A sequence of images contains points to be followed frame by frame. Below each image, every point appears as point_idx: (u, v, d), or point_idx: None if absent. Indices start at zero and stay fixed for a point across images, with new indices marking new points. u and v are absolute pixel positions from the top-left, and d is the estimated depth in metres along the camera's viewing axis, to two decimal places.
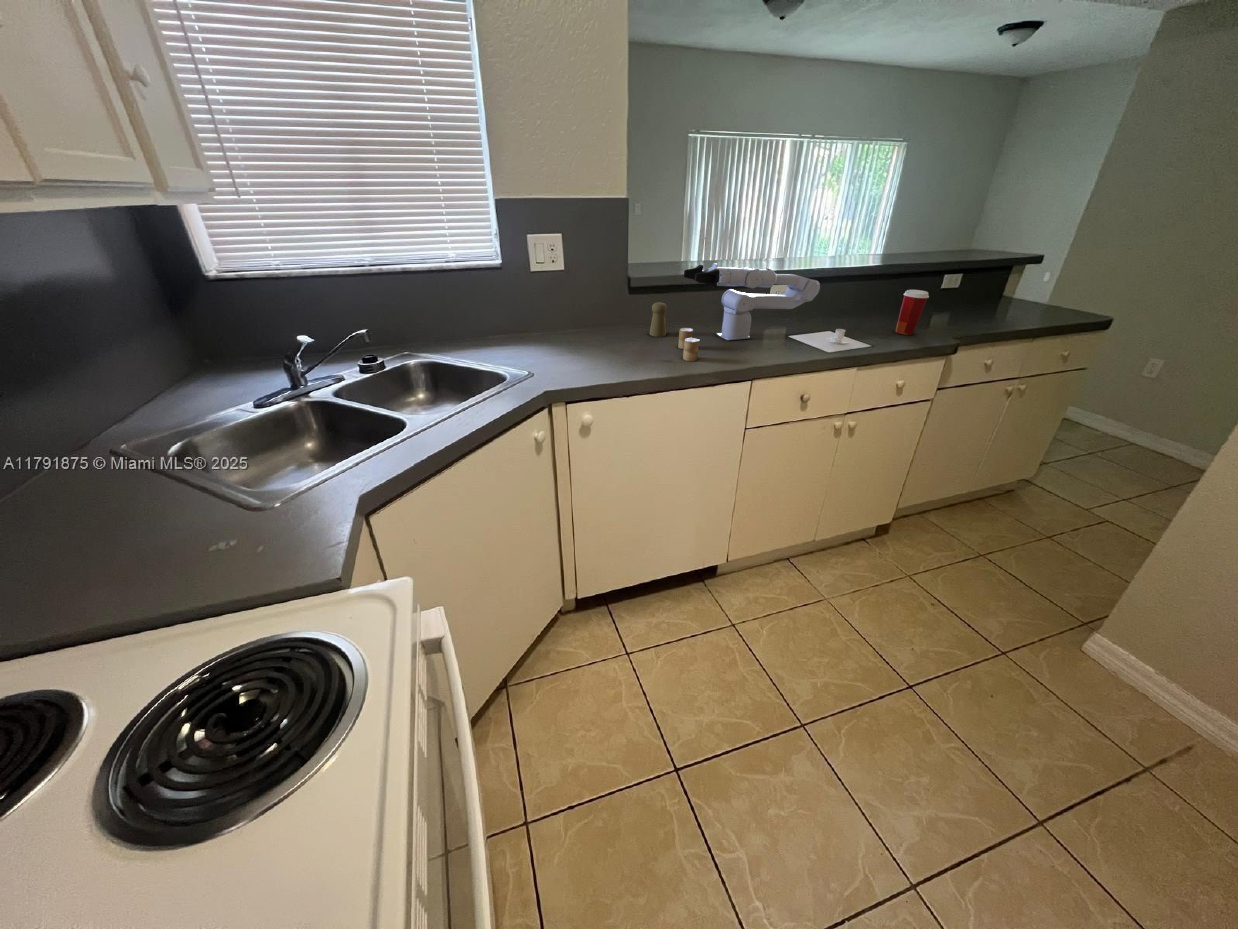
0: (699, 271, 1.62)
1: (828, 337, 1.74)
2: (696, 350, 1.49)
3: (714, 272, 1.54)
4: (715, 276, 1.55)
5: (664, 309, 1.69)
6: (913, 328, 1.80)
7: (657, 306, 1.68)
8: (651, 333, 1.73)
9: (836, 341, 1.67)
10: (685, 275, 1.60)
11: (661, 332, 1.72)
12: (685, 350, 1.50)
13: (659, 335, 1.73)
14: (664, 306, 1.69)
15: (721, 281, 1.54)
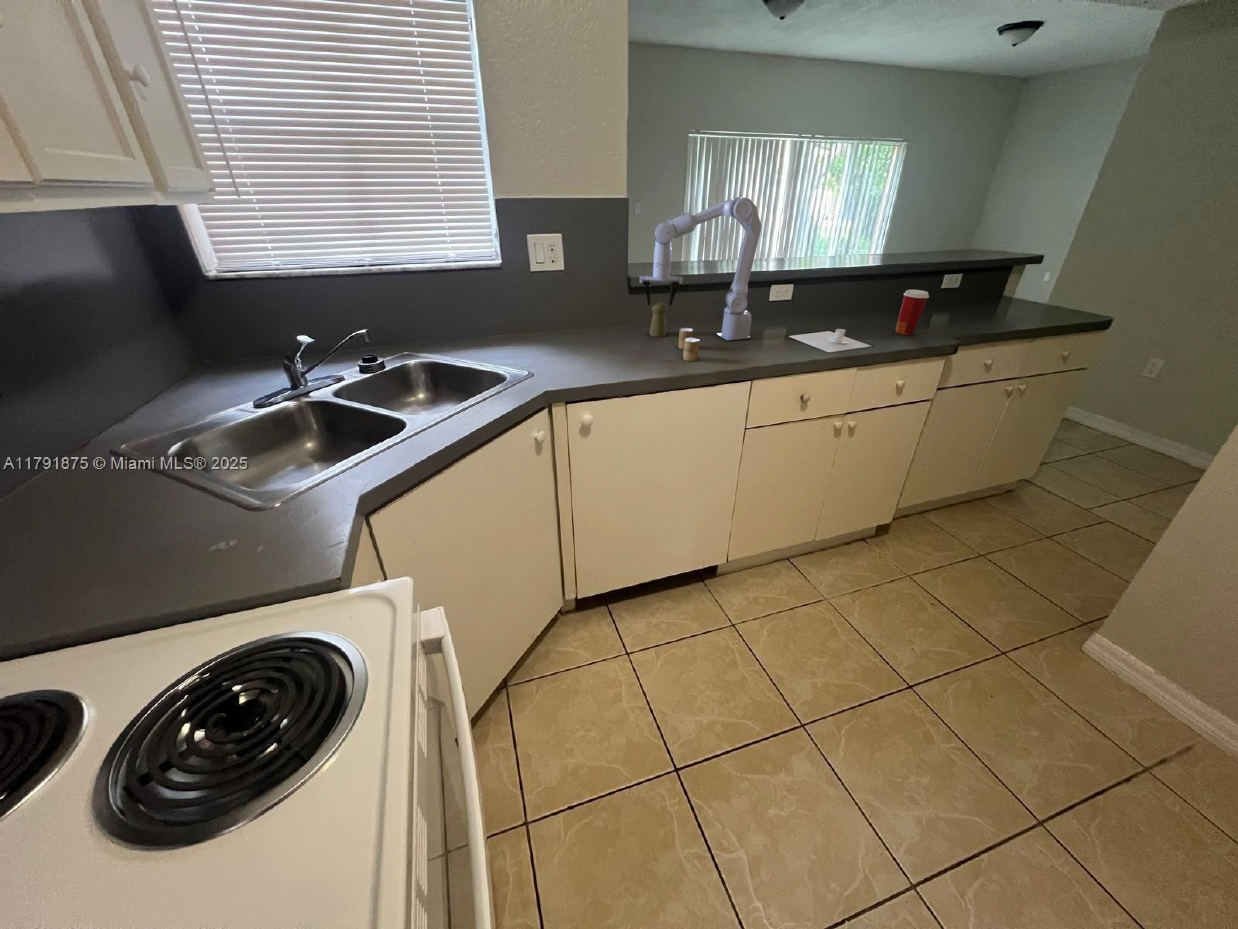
0: (670, 287, 1.68)
1: (828, 337, 1.74)
2: (696, 350, 1.49)
3: None
4: None
5: (664, 309, 1.69)
6: (913, 328, 1.80)
7: (657, 306, 1.68)
8: (651, 333, 1.73)
9: (836, 341, 1.67)
10: (669, 304, 1.69)
11: (661, 332, 1.72)
12: (685, 350, 1.50)
13: (659, 335, 1.73)
14: (664, 306, 1.69)
15: (640, 281, 1.65)
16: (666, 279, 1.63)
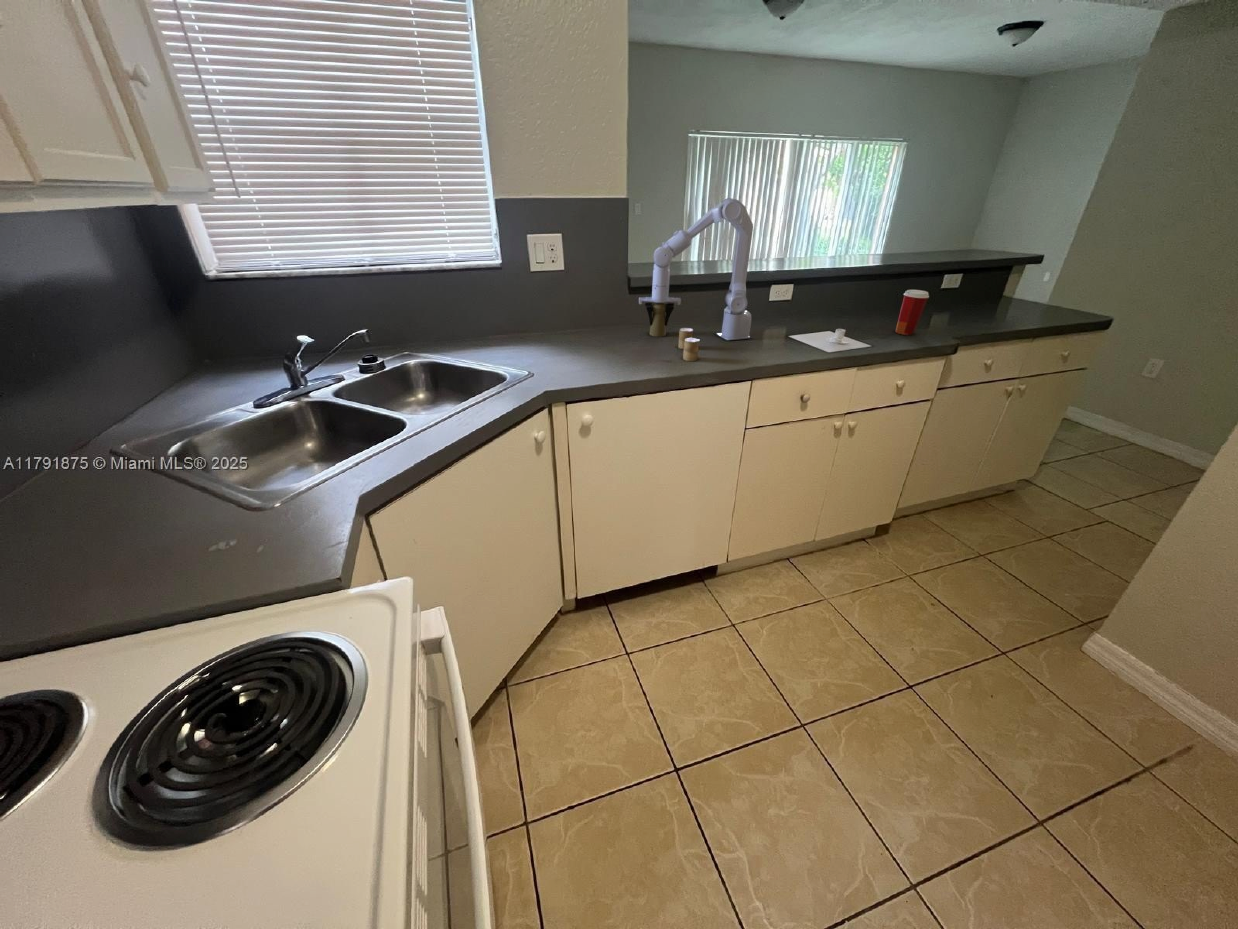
0: None
1: (828, 337, 1.74)
2: (696, 350, 1.49)
3: None
4: None
5: (664, 309, 1.69)
6: (913, 328, 1.80)
7: (657, 306, 1.68)
8: (651, 333, 1.73)
9: (836, 341, 1.67)
10: (665, 324, 1.73)
11: (661, 333, 1.72)
12: (685, 350, 1.50)
13: (659, 335, 1.73)
14: (664, 306, 1.69)
15: (639, 302, 1.69)
16: (665, 300, 1.67)
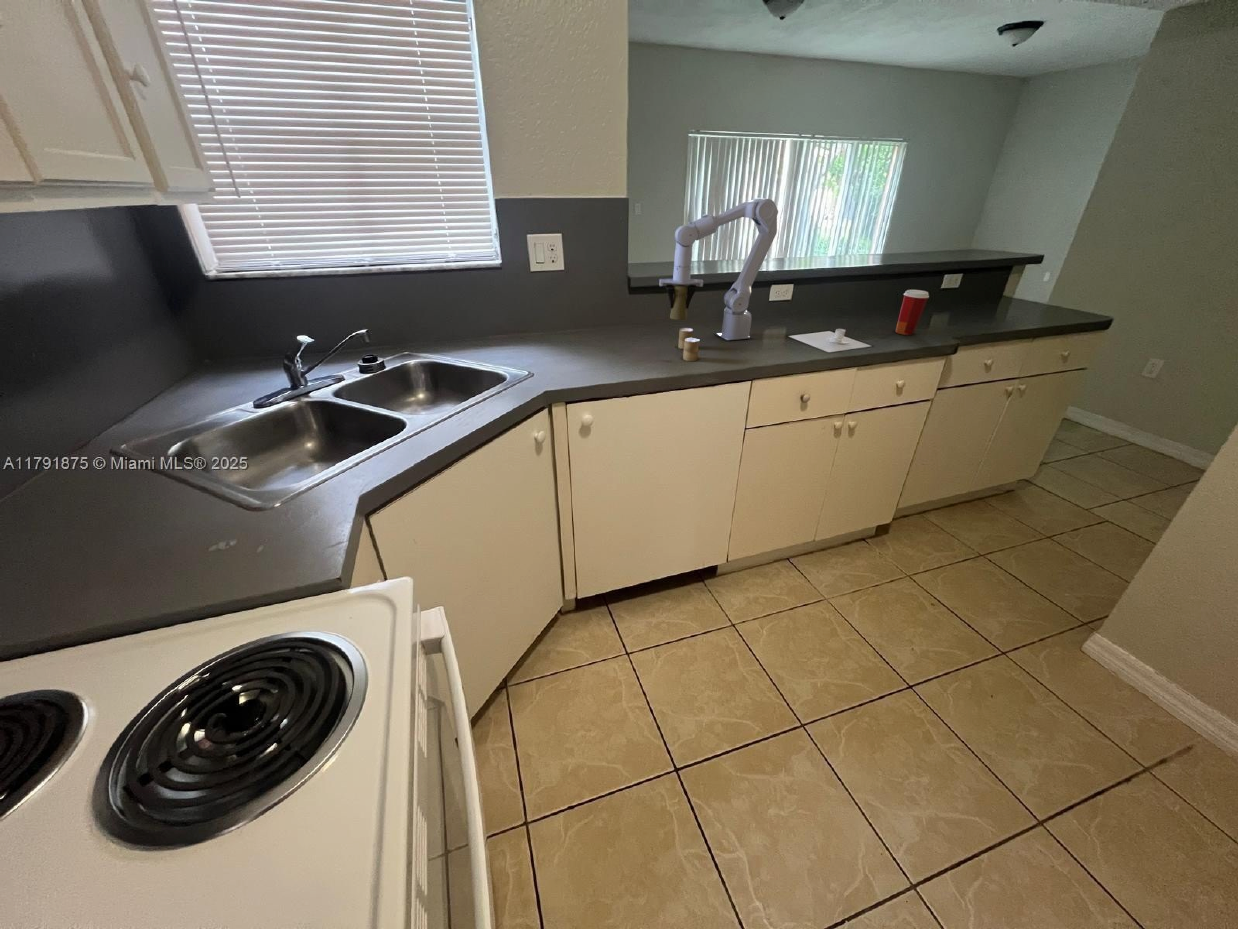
0: None
1: (828, 337, 1.74)
2: (696, 350, 1.49)
3: None
4: None
5: (686, 291, 1.63)
6: (913, 328, 1.80)
7: (678, 288, 1.62)
8: (672, 316, 1.68)
9: (836, 341, 1.67)
10: (686, 307, 1.67)
11: (683, 316, 1.67)
12: (685, 350, 1.50)
13: (680, 318, 1.67)
14: (686, 288, 1.63)
15: (659, 284, 1.63)
16: (687, 282, 1.61)
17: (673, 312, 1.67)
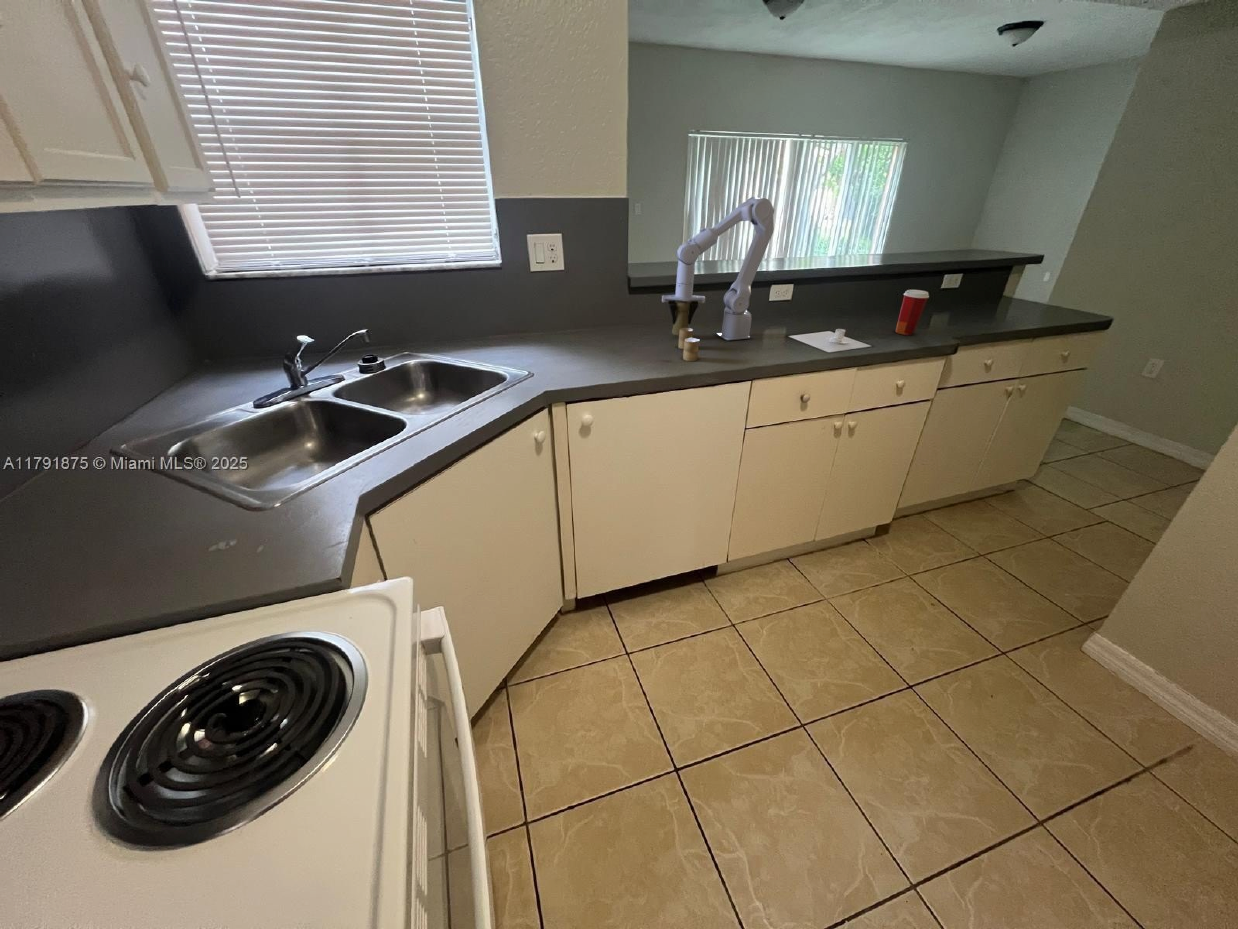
0: None
1: (828, 337, 1.74)
2: (696, 350, 1.49)
3: (669, 305, 1.69)
4: None
5: (688, 307, 1.65)
6: (913, 328, 1.80)
7: (681, 304, 1.65)
8: (674, 332, 1.70)
9: (836, 341, 1.67)
10: (688, 322, 1.69)
11: None
12: (685, 350, 1.50)
13: None
14: (688, 304, 1.65)
15: (662, 300, 1.65)
16: (689, 299, 1.63)
17: (675, 328, 1.69)
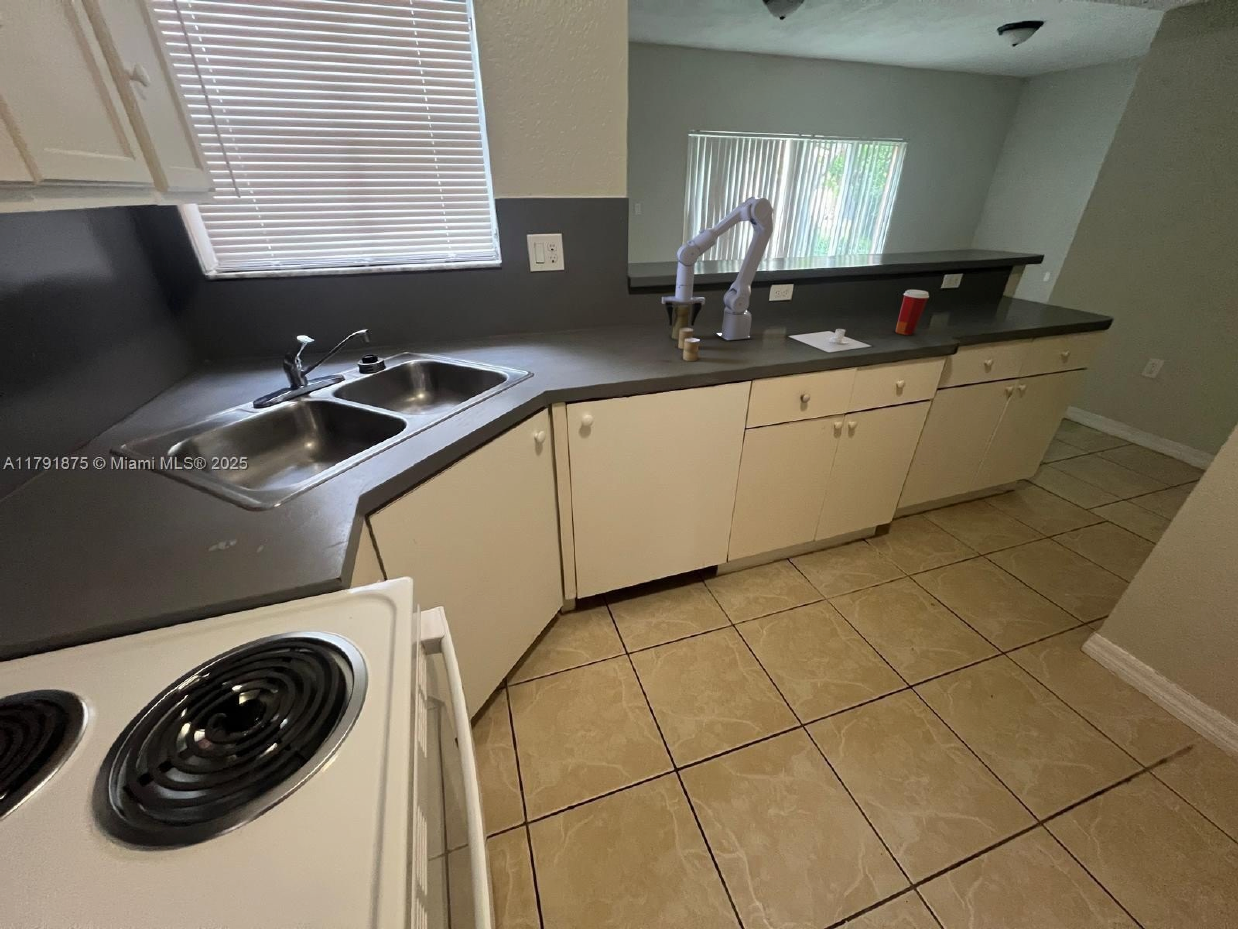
0: (692, 308, 1.68)
1: (828, 337, 1.74)
2: (696, 350, 1.49)
3: None
4: None
5: (688, 312, 1.66)
6: (913, 328, 1.80)
7: (680, 309, 1.65)
8: (673, 336, 1.71)
9: (836, 341, 1.67)
10: (691, 324, 1.70)
11: None
12: (685, 350, 1.50)
13: None
14: (687, 309, 1.66)
15: (662, 302, 1.66)
16: (689, 300, 1.63)
17: (675, 332, 1.70)
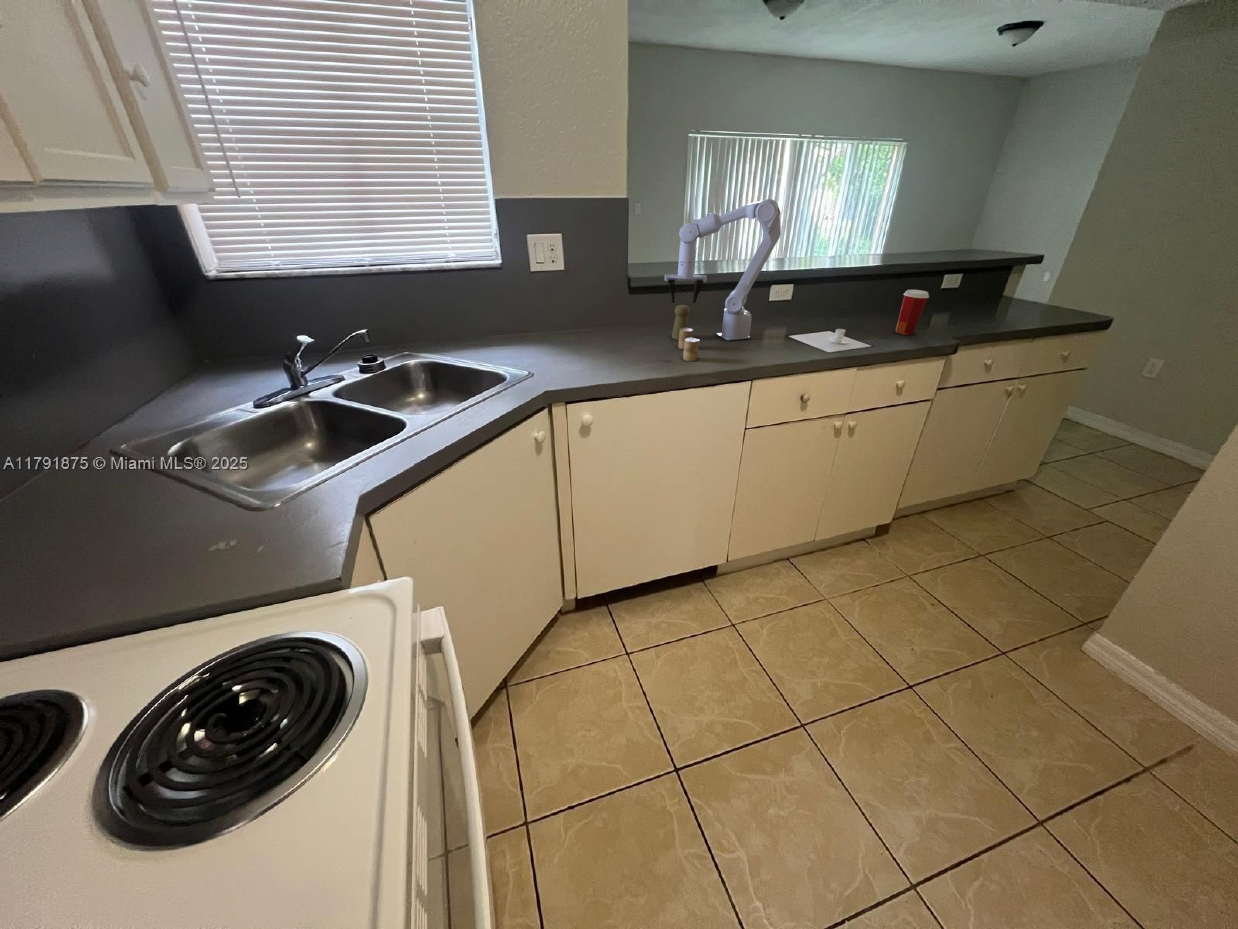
0: (694, 285, 1.72)
1: (828, 337, 1.74)
2: (696, 350, 1.49)
3: (668, 284, 1.73)
4: None
5: (688, 312, 1.66)
6: (913, 328, 1.80)
7: (680, 309, 1.65)
8: (673, 336, 1.71)
9: (836, 341, 1.67)
10: (693, 301, 1.73)
11: None
12: (685, 350, 1.50)
13: None
14: (687, 309, 1.66)
15: (665, 279, 1.69)
16: (691, 277, 1.67)
17: (675, 332, 1.70)
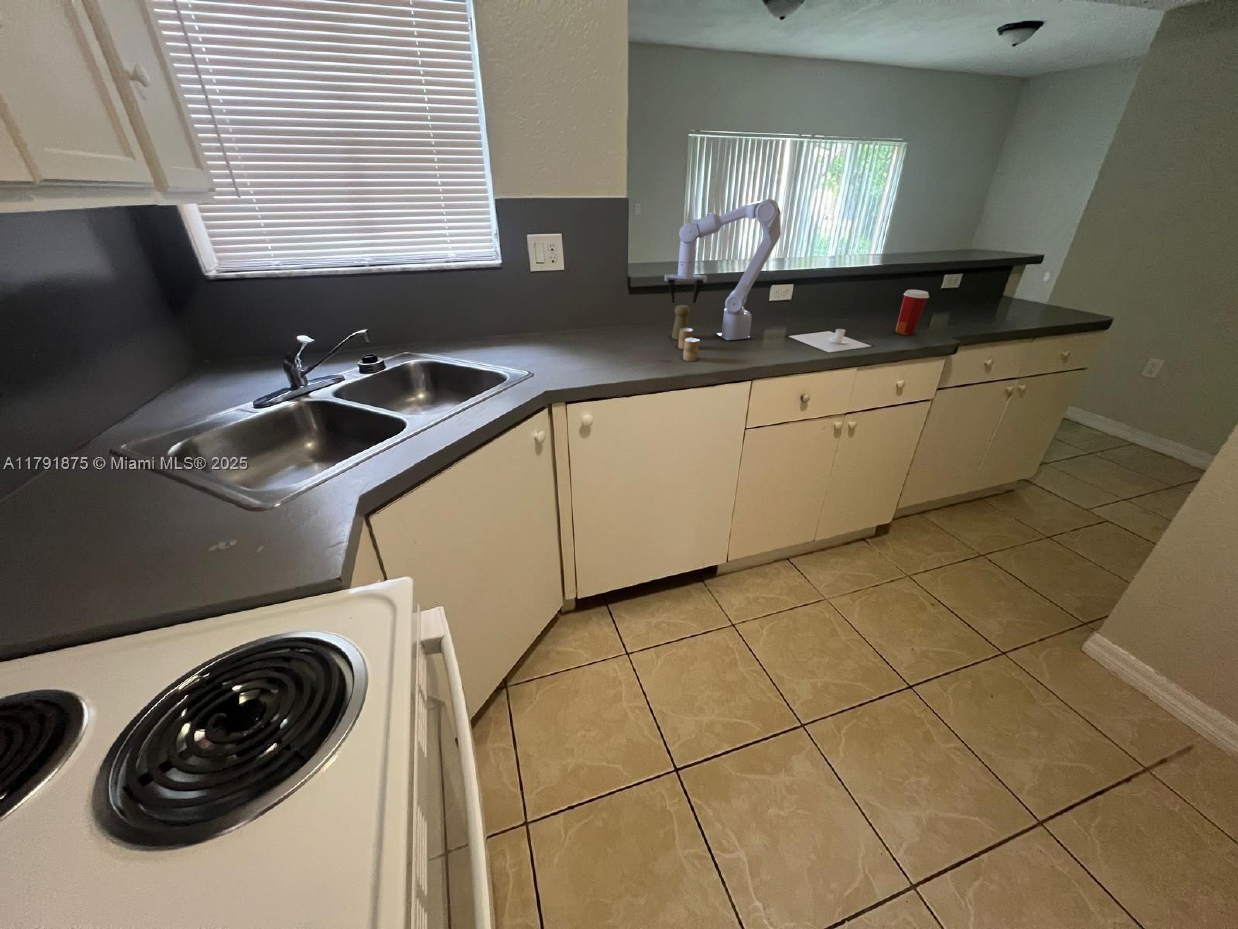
0: (694, 285, 1.72)
1: (828, 337, 1.74)
2: (696, 350, 1.49)
3: (668, 284, 1.73)
4: None
5: (688, 312, 1.66)
6: (913, 328, 1.80)
7: (680, 309, 1.65)
8: (673, 336, 1.71)
9: (836, 341, 1.67)
10: (693, 301, 1.73)
11: None
12: (685, 350, 1.50)
13: None
14: (687, 309, 1.66)
15: (665, 279, 1.69)
16: (691, 277, 1.67)
17: (675, 332, 1.70)
